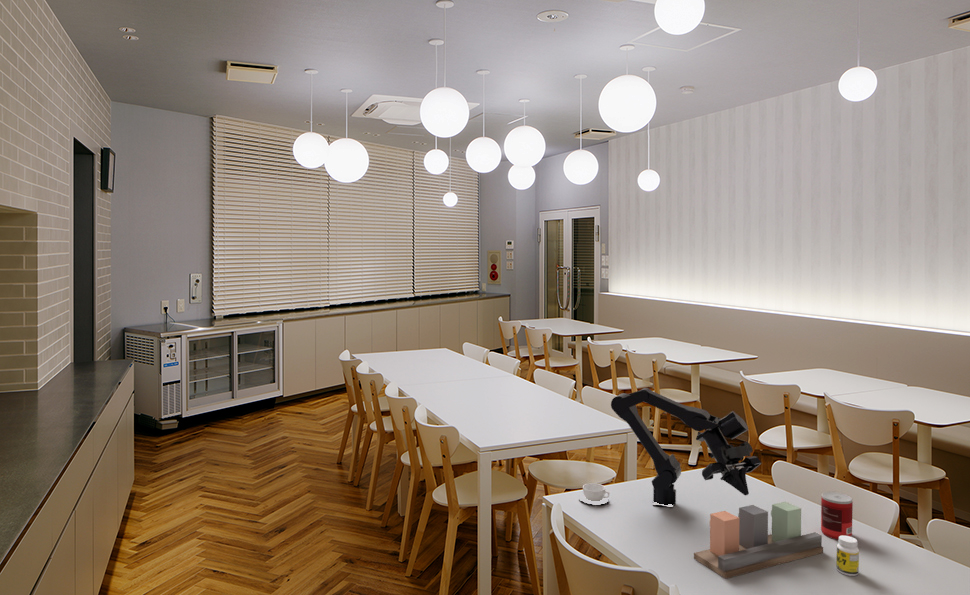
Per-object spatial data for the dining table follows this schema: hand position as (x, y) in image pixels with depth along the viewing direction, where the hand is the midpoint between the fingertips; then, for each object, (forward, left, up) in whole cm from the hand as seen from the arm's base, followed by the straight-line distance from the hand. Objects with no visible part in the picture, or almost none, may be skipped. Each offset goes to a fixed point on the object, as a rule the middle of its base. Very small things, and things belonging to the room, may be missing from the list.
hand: (747, 494), depth 169 cm
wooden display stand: (+3, -16, -10) cm, 19 cm away
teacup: (-46, +6, -11) cm, 48 cm away
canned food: (+24, +6, -11) cm, 27 cm away
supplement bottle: (+23, -17, -11) cm, 30 cm away
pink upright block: (-6, -21, -9) cm, 24 cm away
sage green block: (+10, -9, -9) cm, 16 cm away
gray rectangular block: (+1, -14, -9) cm, 17 cm away
